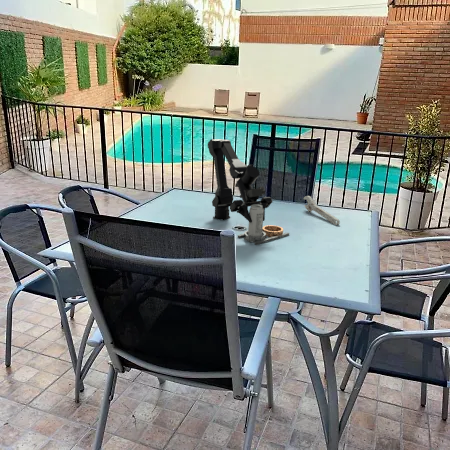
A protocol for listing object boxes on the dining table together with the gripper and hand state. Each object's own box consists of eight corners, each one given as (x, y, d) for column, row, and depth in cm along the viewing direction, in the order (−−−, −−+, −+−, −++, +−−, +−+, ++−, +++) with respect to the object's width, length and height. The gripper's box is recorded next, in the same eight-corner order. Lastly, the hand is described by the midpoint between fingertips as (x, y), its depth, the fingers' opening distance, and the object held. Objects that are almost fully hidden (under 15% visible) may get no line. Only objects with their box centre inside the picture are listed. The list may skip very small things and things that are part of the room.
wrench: (335, 231, 210) (301, 208, 234) (338, 230, 210) (304, 207, 235) (338, 216, 206) (304, 194, 231) (341, 215, 207) (307, 194, 232)
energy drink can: (254, 235, 190) (256, 203, 185) (264, 239, 186) (266, 206, 181) (244, 238, 186) (246, 205, 181) (255, 242, 182) (257, 208, 177)
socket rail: (256, 245, 179) (256, 239, 178) (237, 237, 187) (237, 232, 186) (289, 235, 192) (289, 230, 191) (270, 228, 200) (270, 223, 200)
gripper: (234, 181, 177) (245, 214, 171) (271, 178, 185) (284, 210, 180) (224, 195, 186) (235, 227, 180) (261, 192, 195) (272, 222, 189)
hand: (257, 221), depth 182 cm, fingers closed on energy drink can, 6 cm apart
